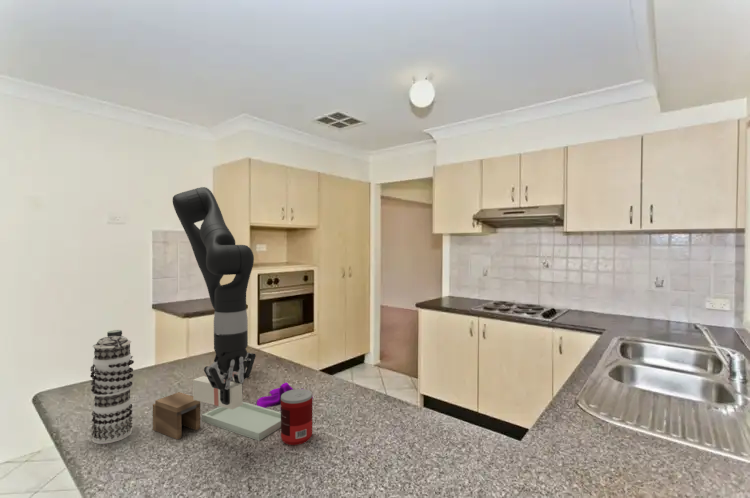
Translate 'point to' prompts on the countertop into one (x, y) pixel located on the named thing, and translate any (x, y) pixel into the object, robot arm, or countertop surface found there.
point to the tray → (245, 420)
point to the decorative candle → (111, 390)
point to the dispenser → (176, 414)
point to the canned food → (296, 416)
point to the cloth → (274, 396)
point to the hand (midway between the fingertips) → (231, 400)
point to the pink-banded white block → (216, 393)
